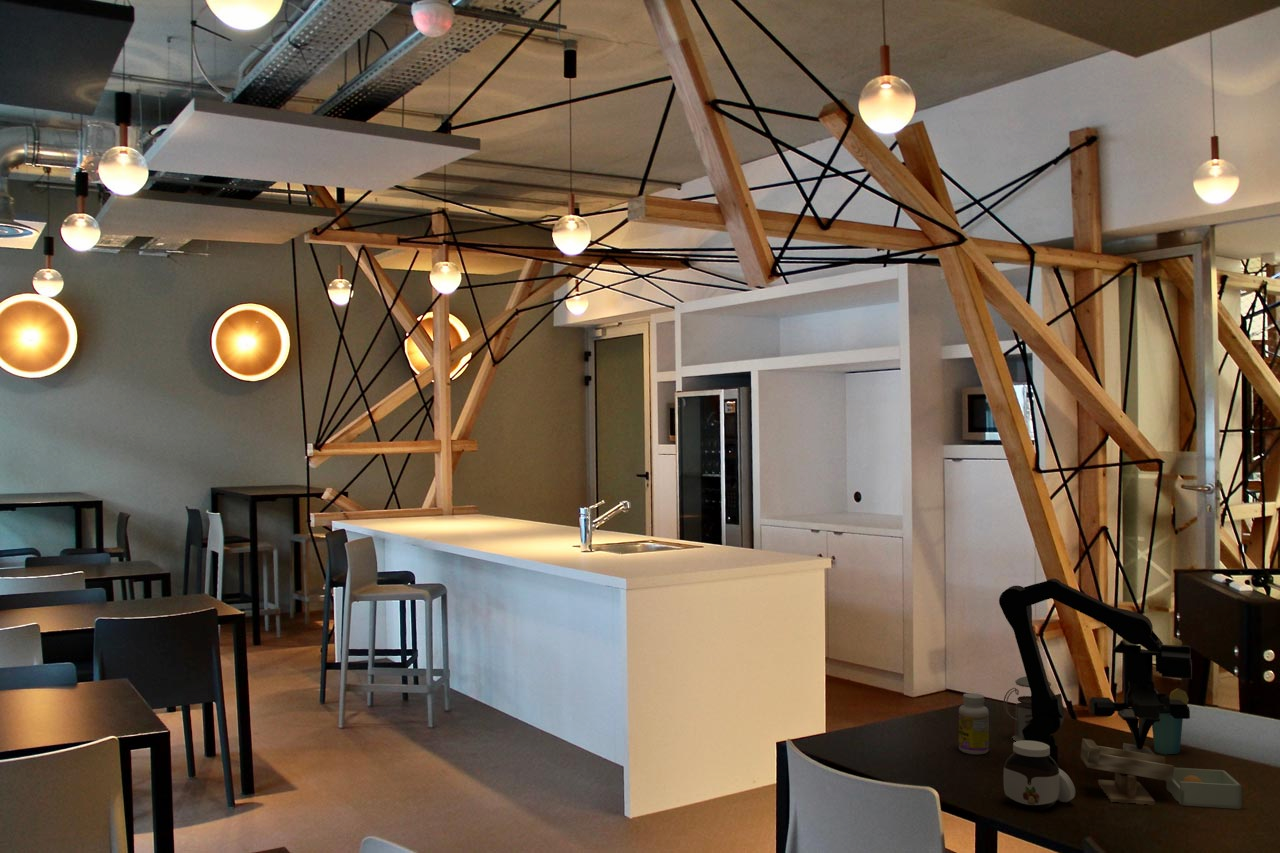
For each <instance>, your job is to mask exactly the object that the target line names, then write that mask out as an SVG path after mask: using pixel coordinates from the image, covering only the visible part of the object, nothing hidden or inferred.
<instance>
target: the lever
mask: <svg viewBox="0 0 1280 853" xmlns="http://www.w3.org/2000/svg"><path fill="white" fill-rule="evenodd" d="M1079 758H1080V759H1081V761H1082V762H1083V763H1084V765H1085V766H1086V768H1087V769H1088V768H1090V769H1093V770H1101V771H1106V772H1113V773H1115V772H1118V773H1124V774H1130V775H1135V776H1136V777H1137V776H1138V777H1143V778H1149V779H1156V780H1160V781H1165V782H1166V781H1173V773H1174V768H1175V766H1174V765H1173V764H1167V763H1166V756H1164V755H1158V754H1155V753H1154V751H1152V750H1151V748H1150V747H1149V746H1144V745H1143V748H1142V749H1138V748H1137V747H1136V744H1133V743H1125V742H1123V744H1122V749H1120V748H1115V747H1108V746H1103V745H1097V744H1096V742H1095V741H1094V740H1093V739H1090V738H1089V739H1088V738H1081V749H1080V756H1079Z"/></svg>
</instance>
